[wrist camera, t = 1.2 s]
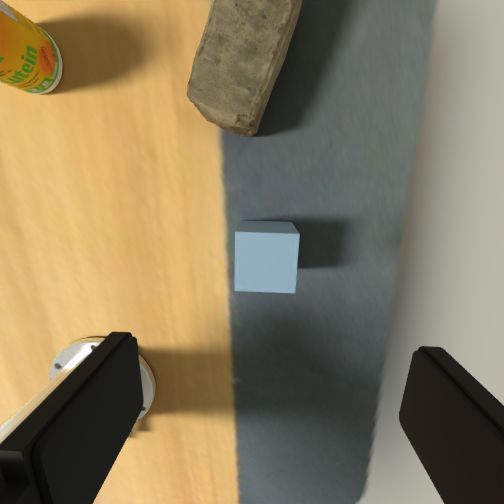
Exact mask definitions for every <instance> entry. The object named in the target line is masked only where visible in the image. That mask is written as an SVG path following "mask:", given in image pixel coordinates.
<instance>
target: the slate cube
mask: <svg viewBox="0 0 504 504" xmlns="http://www.w3.org/2000/svg"><path fill="white" fill-rule="evenodd" d="M299 236H300V234H299V232H298V231H297V229H296V228H295V226H294V225H293V223H292V222H281V221H250V220H241V222H240V224H239V226H238V228H237V229H236V231H235V291H252V292H276V293H295V287H296V274H297V262H298V249H299Z"/></svg>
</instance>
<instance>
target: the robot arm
mask: <svg viewBox="0 0 504 504" xmlns="http://www.w3.org/2000/svg"><path fill="white" fill-rule="evenodd" d="M155 391H156V385H155V379H154V376H153V373H152V371H151V369H150V367H149V365H148V364H147V363H146V361H145V360H144V359H143V358H142V357H141V356H140V355H139V354H138V345H137V339H136V337H133V336H132V334H131V333H130V332H112V333H110V334H109V335H108V336H107V337H106V338H97V337H95V338H85V339H81V340H78V341H75V342H73V343H71V344H70V345H68V346H67V347H66V348H65V349H63V350H62V351H61V352H60V353H59V354H58V355H57V356H56V357H55V359H54V361H53V362H52V365H51V369H50V381H49V382H48V383H47V384H46V385H45V386H44V387H43V388H42V389H40V390H39V391H38V392H37V393H36V394H35V395H34V396H33V397H32V398H31V399H30V400H29V401H28V402H27V403H26V404H25V405H23V406H22V407H21V408H20V409H19V410H18V411H17V412H16V413H15V414H14V415H13V416H12V417H11V418H10V419H9V420H8V421H6V422H5V423H4V424H3V425H2V426H1V427H0V504H93V502H94V500H95V498H96V496H97V494H98V492H99V490H100V489H101V487H102V485H103V483H104V481H105V479H106V477H107V475H108V473H109V471H110V470H111V468H112V466H113V464H114V462H115V460H116V458H117V456H118V454H119V453H120V451H121V449H122V447H123V445H124V443H125V441H126V439H127V437H128V435H129V434H130V432H131V430H132V428H133V426H134V424H135V422H136V421H138V420H139V419H141V418H142V417H143V416H144V415H145V414H146V413H147V411H148V410H149V408H150V406H151V404H152V402H153V400H154V397H155ZM399 420H400V424H401V426H402V428H403V430H404V432H405V434H406V436H407V437H408V439H409V441H410V443H411V445H412V446H413V448H414V450H415V452H416V454H417V455H418V457H419V459H420V461H421V463H422V464H423V466H424V468H425V470H426V471H427V473H428V475H429V477H430V479H431V480H432V482H433V484H434V486H435V488H436V489H437V491H438V493H439V495H440V497H441V499H442V500H443V502H444V504H504V406H503V405H502V404H501V403H500V402H499V401H498V400H497V399H496V398H495V397H494V396H493V395H492V394H491V393H490V392H488V391H487V389H486V388H484V387H483V386H482V385H481V384H480V383H479V382H478V381H477V380H476V379H475V378H474V377H473V376H472V375H471V374H470V373H469V372H467V371H466V370H465V369H464V368H463V367H462V366H461V365H460V364H459V363H458V362H457V361H456V360H455V359H454V358H453V357H452V356H451V355H449V354H448V353H447V352H446V351H445V350H444V349H443V348H441V347H428V346H421V347H420V348H419V349H418V351H415V352H414V353H413V356H412V361H411V365H410V370H409V373H408V378H407V382H406V386H405V391H404V395H403V399H402V404H401V408H400V412H399Z"/></svg>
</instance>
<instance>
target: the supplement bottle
mask: <svg viewBox="0 0 504 504" xmlns="http://www.w3.org/2000/svg"><path fill="white" fill-rule="evenodd" d="M62 68H63V67H62V58H61V54H60V51H59V49H58V47H57V45H56V43H55V42H54V40H53V39H52V38H51V36H50V35H49V34H48V33H47V32H46V31H45V30H43V29H42V28H41V27H39V26H38V25H37V24H35V23H34V22H32V21H31V20H29V19H28V18H26V17H25V16H23V15H22V14H21V13H19V12H18V11H16V10H15V9H13V8H12V7H10V6H9V5H7V4H6V3H4V2H3V1H2V0H0V82H2V83H4V84H7V85H9V86H12V87H15V88H17V89H20V90H23V91H26V92H29V93H32V94H45V93H48V92H50V91H52V90H53V89H54V88H55V87H56V86H57V85H58V83H59V81H60V79H61V76H62Z"/></svg>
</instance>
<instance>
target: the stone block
mask: <svg viewBox="0 0 504 504" xmlns="http://www.w3.org/2000/svg"><path fill="white" fill-rule="evenodd" d="M302 1H303V0H213V2H212V5H211V9H210V13H209V16H208V19H207V23H206V26H205V29H204V33H203V36H202V39H201V42H200V44H199V47H198V49H197V52H196V55H195V58H194V61H193V66H192V73H191V76H190V79H189V82H188V85H187V88H188V91H187V96H188V98H189V99H190V101H191V102H192V103H194V105H195V107H197V109H198V110H199V111H200V113H201V114H202V115H203V116H204V117H205V118H206V120H207V121H210V122H212V123H214V124H216V125H217V126H219V127H221V128H223V129H226V130H229V131H232V132H234V133H236V134H238V135H240V136H253V135H254V134H256V133H257V130H258V128H259V125H260V122H261V119H262V116H263V114H264V111H265V108H266V106H267V103H268V100H269V97H270V94H271V91H272V89H273V86H274V84H275V82H276V79H277V77H278V75H279V72H280V70H281V67H282V65H283V63H284V60H285V57H286V54H287V51H288V47H289V44H290V41H291V38H292V35H293V33H294V30H295V27H296V24H297V21H298V17H299V14H300V10H301V6H302Z"/></svg>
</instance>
